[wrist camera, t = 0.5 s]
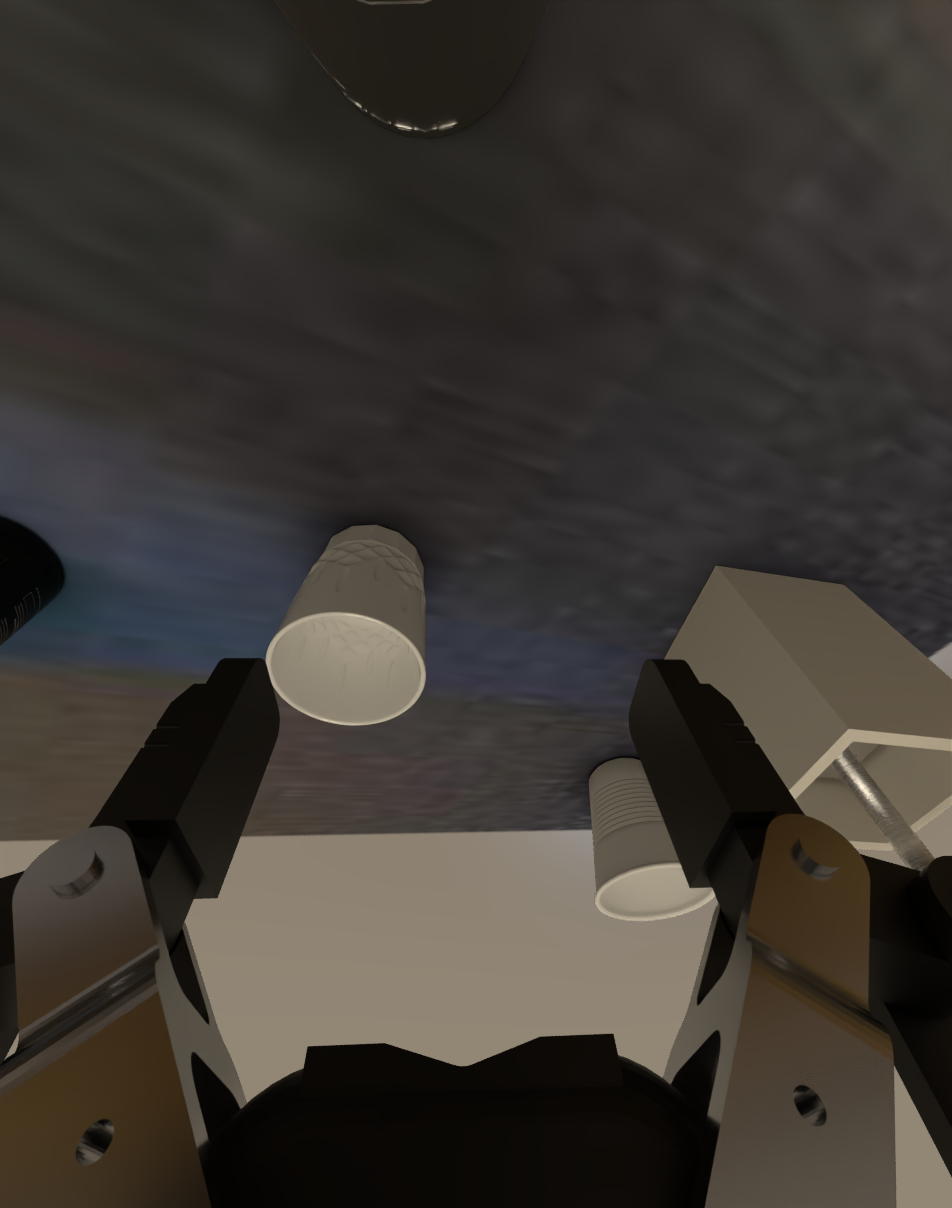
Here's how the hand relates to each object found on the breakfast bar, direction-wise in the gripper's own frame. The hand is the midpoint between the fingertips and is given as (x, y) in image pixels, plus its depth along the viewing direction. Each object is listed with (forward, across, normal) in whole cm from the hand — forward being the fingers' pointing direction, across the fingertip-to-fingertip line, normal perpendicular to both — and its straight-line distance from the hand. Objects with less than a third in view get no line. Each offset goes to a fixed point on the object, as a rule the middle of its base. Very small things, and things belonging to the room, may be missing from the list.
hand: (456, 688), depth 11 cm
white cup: (+21, +5, +9) cm, 24 cm away
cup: (+22, -16, +33) cm, 43 cm away
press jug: (+21, -22, +16) cm, 34 cm away
